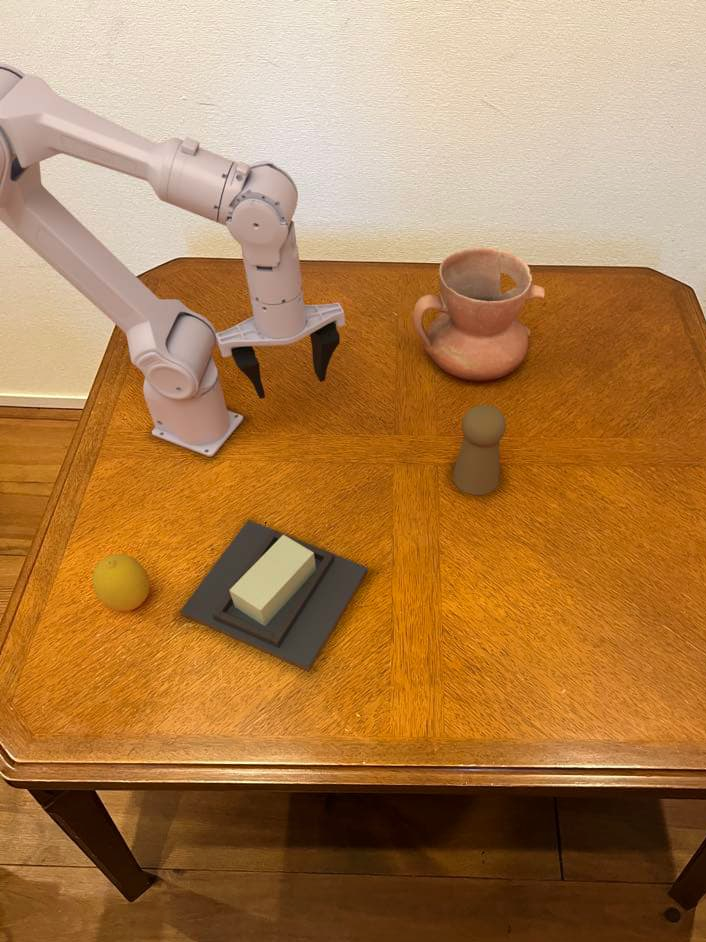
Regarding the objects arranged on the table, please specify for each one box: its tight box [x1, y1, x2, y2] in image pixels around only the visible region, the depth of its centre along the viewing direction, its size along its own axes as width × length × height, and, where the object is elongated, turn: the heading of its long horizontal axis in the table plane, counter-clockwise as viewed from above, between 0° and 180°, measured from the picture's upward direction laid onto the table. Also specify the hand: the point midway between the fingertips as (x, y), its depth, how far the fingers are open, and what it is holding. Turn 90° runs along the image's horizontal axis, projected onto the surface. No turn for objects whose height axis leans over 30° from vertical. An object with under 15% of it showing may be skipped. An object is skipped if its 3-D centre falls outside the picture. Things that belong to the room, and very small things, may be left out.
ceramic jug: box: [412, 247, 546, 382], centre depth 102 cm, size 18×14×14 cm
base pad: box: [179, 519, 369, 673], centre depth 83 cm, size 16×14×2 cm
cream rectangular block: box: [229, 534, 316, 626], centre depth 81 cm, size 4×9×4 cm, turn 146°
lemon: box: [92, 553, 151, 613], centre depth 79 cm, size 6×6×8 cm
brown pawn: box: [452, 404, 507, 496], centre depth 90 cm, size 6×6×11 cm
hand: (290, 384), depth 90 cm, fingers open, 7 cm apart
